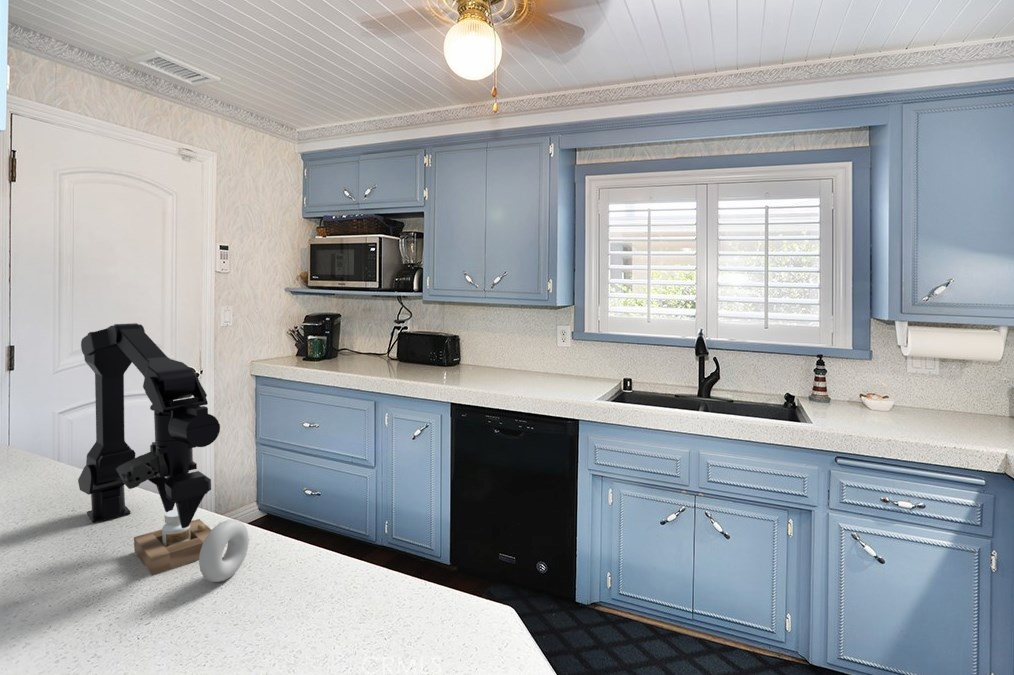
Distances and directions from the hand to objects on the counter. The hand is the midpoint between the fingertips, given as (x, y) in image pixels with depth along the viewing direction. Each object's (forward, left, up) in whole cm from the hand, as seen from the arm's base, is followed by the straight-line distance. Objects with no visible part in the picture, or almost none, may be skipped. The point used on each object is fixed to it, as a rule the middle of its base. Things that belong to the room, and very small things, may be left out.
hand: (176, 519), depth 99 cm
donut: (+15, +3, -7) cm, 17 cm away
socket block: (0, 0, -6) cm, 7 cm away
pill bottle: (0, 0, -7) cm, 7 cm away
